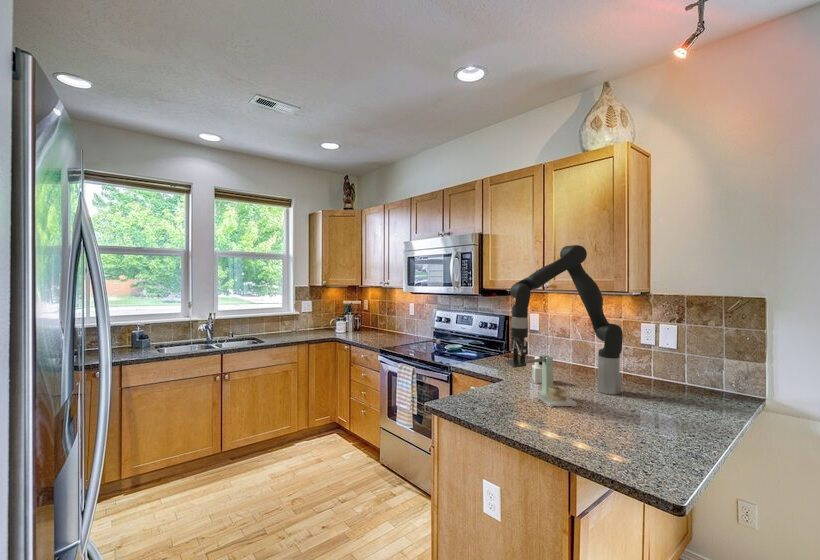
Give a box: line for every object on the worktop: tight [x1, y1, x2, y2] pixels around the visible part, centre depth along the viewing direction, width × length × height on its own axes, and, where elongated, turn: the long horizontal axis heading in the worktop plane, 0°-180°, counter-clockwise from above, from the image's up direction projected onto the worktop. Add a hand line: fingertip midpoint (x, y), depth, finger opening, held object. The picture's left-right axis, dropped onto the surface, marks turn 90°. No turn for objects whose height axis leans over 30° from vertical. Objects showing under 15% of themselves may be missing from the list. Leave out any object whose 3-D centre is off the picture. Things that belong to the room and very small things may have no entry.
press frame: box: [537, 355, 578, 407], centre depth 175 cm, size 12×18×18 cm, turn 6°
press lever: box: [505, 355, 551, 369], centre depth 180 cm, size 20×10×2 cm, turn 96°
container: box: [531, 355, 544, 384], centre depth 205 cm, size 8×8×13 cm
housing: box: [548, 386, 567, 401], centre depth 172 cm, size 6×5×5 cm
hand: (518, 361), depth 180 cm, fingers open, 8 cm apart
